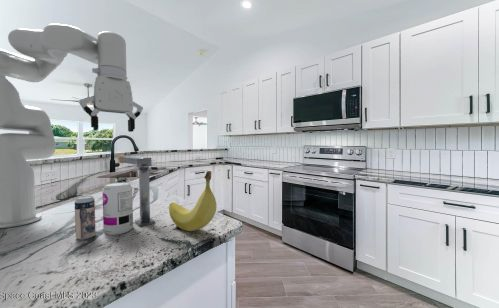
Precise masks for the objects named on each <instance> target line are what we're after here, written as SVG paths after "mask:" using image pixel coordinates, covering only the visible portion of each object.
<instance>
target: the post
mask: <svg viewBox="0 0 499 308" xmlns="http://www.w3.org/2000/svg"><path fill="white" fill-rule="evenodd" d="M138 175H139V177H138V182H139V184H138V185H139V186H138V187H139V189H138V191H139V219H137V220H134V223H135V225H137V226H138V227H144V226H148V225H152V224H153V225H154V224H156V220H154V219H153V218H151V204H150V203H151V199H150V196H151V193H150V192H151V190H150V187H151V186H150V166H146V167H138Z"/></svg>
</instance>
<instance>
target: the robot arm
mask: <svg viewBox="0 0 499 308" xmlns="http://www.w3.org/2000/svg"><path fill="white" fill-rule="evenodd" d="M7 40H8V43H9V44H10V46H11V47H12V48H13V50H15V51H16V52H18V53H20V54H22V55H20V54H18V53H15V52H10V51H8V50H5V49H2V48H0V130H3V131H16V132H6V133H4V132H3V133H0V229H7V228H12V227H13V228H14V227H19V226H24V225H28V224H32V223H35V222H38V221H40V220H41V219H43V218H42V217H43V216H42V214H41V213H37V210H36V187H35V186H36V184H35V181H36V180H35V171H34V169H33V167H32V166H31V165H30V164H29V162H28V160H29V161H30V160H43V159H48V158H51V157H53V155H54V154H55V152H56V147H57V146H56V141H55V136H54V132H53V127H52V124H51V123H52V122H51V119H50V117H49V115H48V113H47V112H46V111H45V110H43V109H41V108H39V107H35V106H29V105H24V104H23V103H22V100H21V96H20V93H19V91H18V89H17V88H16V87H15V85H14V84H13V83H12V82H11V81H10V80H9V79H7V78H6V77H9V78H11V79H12V78H13V79H17V80H22V81H24V82H29V83H40V82H42V81H44V80H45V79H46V78H47V77H49V75H50V74H52V73H53V72H54V71H55V70H56V69H57V68H58V67H59V66H60V65H62V62H63V61H64V59H65V58H66V57H67V56H68V54H71V55H73V56H76V57H79V58H81V59H83V60H85V61H88V62H90V63H93V64H96V65H97V67H92V70H91V71H92V73H93V74H96V75H97V76H96V77H95V79H94V80H95V82H94V87H93V95H92V96H87V97H84V98H82V99H79V100H78V103H79V104H80V107H81V108H82V110H83V111H84V112H85V113H86V115H88V116H89V117H90V127H91V128H93V131H98V130H99V117H98V114H99V113H100V112H102V113H103V112H104V113H114V114H125V116H127V118H128V120H127V131H128V132H129V133H130V132H134V131H135V129H136V124H135V123H136V122H135V121H136V119H137V118H138V117H139V116H140V115H141V114H142V112H143V109H144V107H143V106H142V105H140V104H138V103H137V102H135V101H134V99H133V91H132V86H131V83H130V81H127V80H128V78H127V44H126V39H125V38H124V37H123V36H122V35H120V34H118V33H115V32H113V31H102V32H99V33H98V35H97V37H95V36H94V35H91V34H89V33H88V32H86V31H83V30H82V29H80V28H79V27H76V26H72V25H68V24H60V23H49V24H47V25H46V26H45V27H44V28H43V29H31V28H30V29H29V28H15V29H13V30H11V31H10V32H9V33H8V35H7ZM29 57H30V58H29ZM91 102H92V104H93V110H92V109H91V108H90V107H89V106H88V103H91ZM134 108H135V109H136V111H135V112H133V111H134ZM17 132H18V133H17ZM19 132H20V133H19ZM21 132H22V133H21ZM24 132H28V133H24Z"/></svg>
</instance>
